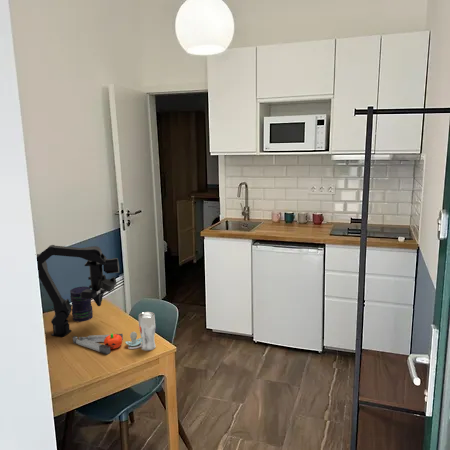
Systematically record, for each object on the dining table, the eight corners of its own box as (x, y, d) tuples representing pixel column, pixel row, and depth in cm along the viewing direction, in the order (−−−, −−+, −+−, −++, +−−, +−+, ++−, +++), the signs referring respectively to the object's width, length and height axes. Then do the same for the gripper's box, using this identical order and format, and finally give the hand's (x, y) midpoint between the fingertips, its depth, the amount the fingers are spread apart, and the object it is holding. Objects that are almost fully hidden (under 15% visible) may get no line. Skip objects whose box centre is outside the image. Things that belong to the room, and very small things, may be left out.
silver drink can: (153, 352, 174) (151, 318, 171) (137, 350, 175) (135, 317, 172) (158, 344, 181) (157, 312, 178) (143, 343, 182) (141, 311, 179)
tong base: (72, 342, 183) (71, 336, 183) (75, 341, 185) (75, 335, 184) (106, 355, 172) (106, 348, 172) (110, 352, 174) (110, 346, 173)
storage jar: (88, 312, 217) (85, 285, 214) (96, 317, 210) (94, 289, 207) (69, 317, 210) (66, 289, 207) (77, 323, 203) (74, 294, 200)
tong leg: (78, 343, 183) (78, 337, 182) (79, 340, 185) (79, 335, 184) (122, 341, 184) (121, 335, 183) (123, 339, 186) (122, 333, 185)
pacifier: (144, 347, 178) (141, 341, 184) (144, 334, 177) (140, 328, 182) (128, 351, 175) (124, 345, 180) (127, 338, 174) (123, 332, 179)
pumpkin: (125, 348, 179) (125, 335, 177) (107, 353, 175) (106, 340, 173) (119, 340, 185) (118, 327, 183) (101, 345, 180) (100, 332, 178)
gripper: (100, 282, 179) (103, 315, 182) (122, 269, 197) (124, 300, 200) (78, 280, 182) (81, 313, 185) (101, 267, 200) (104, 298, 203)
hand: (99, 305), depth 193 cm, fingers closed
